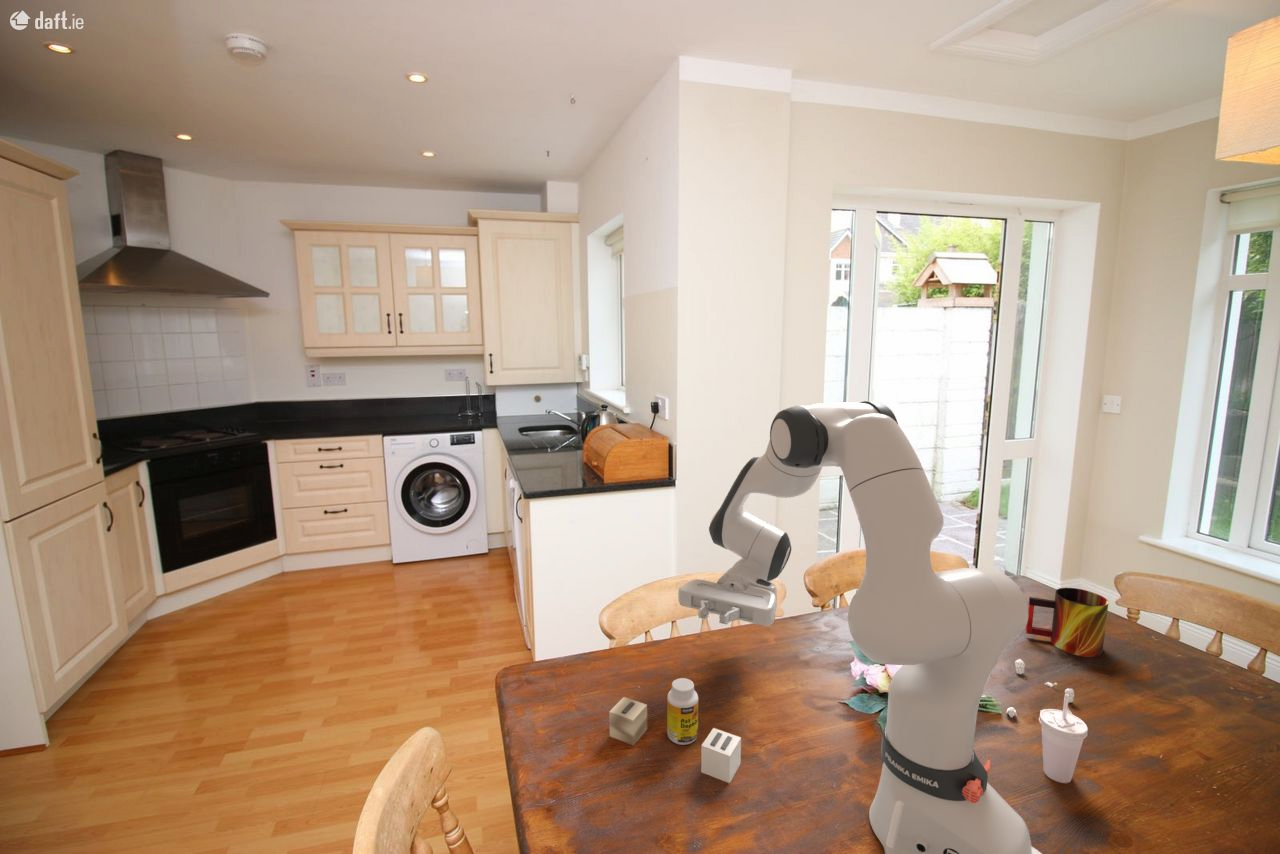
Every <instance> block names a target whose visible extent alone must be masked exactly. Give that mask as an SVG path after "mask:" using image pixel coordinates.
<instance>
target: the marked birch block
mask: <svg viewBox="0 0 1280 854" xmlns="http://www.w3.org/2000/svg"><path fill="white" fill-rule="evenodd" d="M608 713H609V715H608V717H609V719H608V720H609V723H608V724H609V737H611V738H612V739H615V740H619V742H620V741H621V742H623V743H626V744H628V745H631V746H633V747H634V745H636V743H637V742H638V741H639V740H640V739H641V737H642V736H643V735H644V734H645V733H646V731H647V730H648V704H646V703H643V702H640V701H638V700H634V699H632V698H628V697H625V696H623V697H622V698H621V699H620V700H619V701H618V702H617V703H616V704H615V705H614V706H613V707H612V708H611V710H609V712H608Z"/></svg>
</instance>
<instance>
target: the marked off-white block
mask: <svg viewBox="0 0 1280 854" xmlns="http://www.w3.org/2000/svg"><path fill="white" fill-rule="evenodd" d="M700 748H701V751H700V753H701V754H700V755H701V757H700V758H701V762H700V765H701V769H700V771H701V772H700V773H702V774H705V775H708V776H709V777H712V778H715V779H716V780H720V781H723V782H725V783H728V784H731V782H732V780H733V778H734V776H735V774H736V773H737V771H738V769H739V767H740V766H741V764H742V763H741V760H742V757H741V753H742V737H741V736H738V735H735V734H732V733H731V732H730V733H729V732H726V731H724V730H721V729H718V728H716V727H712V729H711V731H710V732H709V734H708V735H707V737H706V738H705V740H704V741H703V742H702V744H701V747H700Z"/></svg>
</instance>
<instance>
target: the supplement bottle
mask: <svg viewBox="0 0 1280 854" xmlns="http://www.w3.org/2000/svg"><path fill="white" fill-rule="evenodd" d="M694 683H695V682H693V681H692V680H691V679H688V678H684V677H680V678H676V679H674V680H673V681H672V682H671V689H670V690H669V691H668V693H667V696H666V697H667V699H666V700H667V702H666V703H667V711H666V714H667V716H666V717H667V718H666V719H667V721H666V722H667V723H666V724H667V725H666V728H667V729H666V730H667V731H666V733H667V737H668V739H669V740H670V741H672V742H673V743H675V744H677V745H681V746H686V745H690V744H692V743H693V742H695V741H696V740H697V738H698V736H699V735H698V734H699V695H698V693H697V691H696V690H695V684H694Z"/></svg>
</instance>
